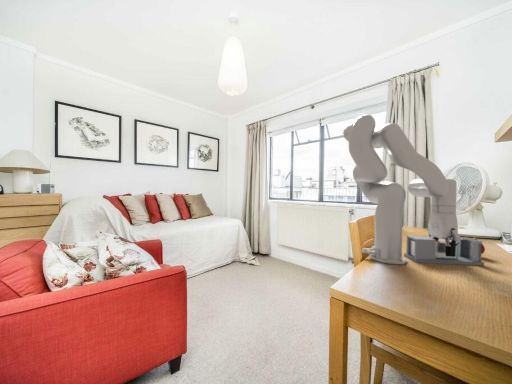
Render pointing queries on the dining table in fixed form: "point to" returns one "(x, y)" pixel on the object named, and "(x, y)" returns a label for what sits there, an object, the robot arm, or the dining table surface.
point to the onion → (481, 247)
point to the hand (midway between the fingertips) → (442, 252)
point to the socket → (470, 249)
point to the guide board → (432, 252)
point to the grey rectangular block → (439, 249)
